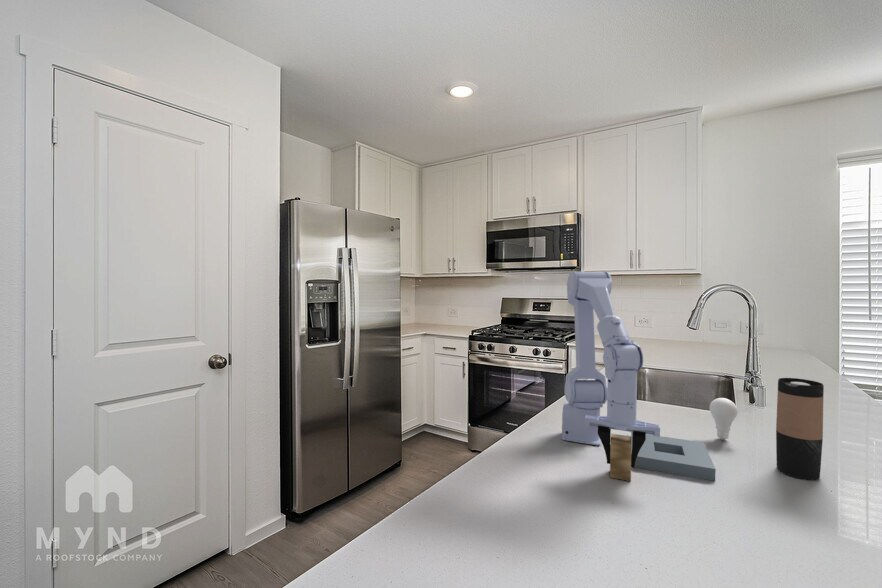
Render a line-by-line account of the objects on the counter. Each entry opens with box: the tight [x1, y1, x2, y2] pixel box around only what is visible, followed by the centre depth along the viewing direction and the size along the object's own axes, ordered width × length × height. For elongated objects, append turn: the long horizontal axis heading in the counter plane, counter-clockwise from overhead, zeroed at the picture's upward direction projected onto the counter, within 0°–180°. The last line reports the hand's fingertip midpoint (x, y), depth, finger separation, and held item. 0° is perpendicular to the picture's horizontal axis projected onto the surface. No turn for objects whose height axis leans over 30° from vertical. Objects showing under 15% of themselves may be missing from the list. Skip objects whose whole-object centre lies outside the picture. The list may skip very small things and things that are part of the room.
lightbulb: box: [709, 397, 739, 441], centre depth 109 cm, size 6×6×11 cm
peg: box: [609, 433, 632, 482], centre depth 88 cm, size 4×4×8 cm
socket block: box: [630, 432, 717, 482], centre depth 97 cm, size 16×16×2 cm
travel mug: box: [775, 377, 825, 481], centre depth 90 cm, size 8×8×20 cm
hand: (620, 463), depth 88 cm, fingers closed on peg, 4 cm apart
